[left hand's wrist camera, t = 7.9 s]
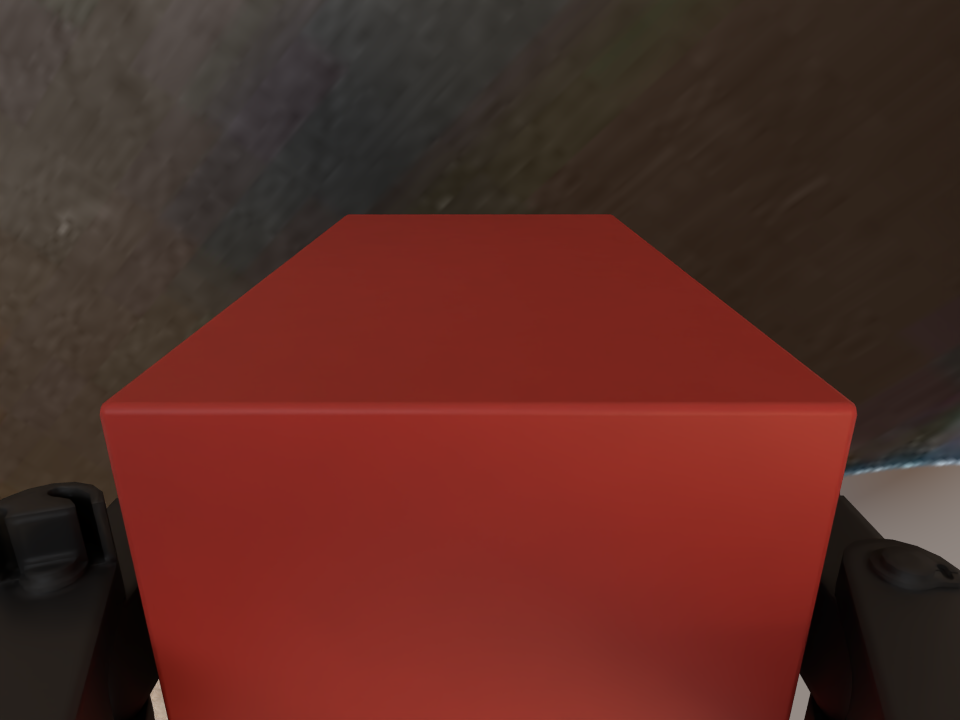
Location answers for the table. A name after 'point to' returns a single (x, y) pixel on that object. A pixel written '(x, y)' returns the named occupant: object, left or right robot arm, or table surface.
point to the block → (478, 485)
